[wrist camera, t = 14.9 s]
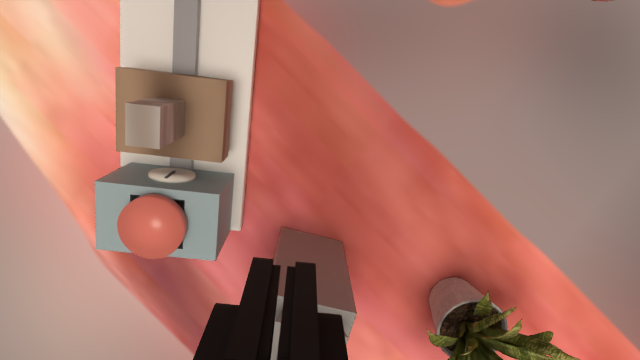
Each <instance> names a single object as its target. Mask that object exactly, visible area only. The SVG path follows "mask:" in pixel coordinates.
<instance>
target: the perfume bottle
mask: <svg viewBox="0 0 640 360" xmlns="http://www.w3.org/2000/svg"><path fill="white" fill-rule="evenodd" d="M273 259H274V262H273V265H281V269H280V279H279V288H278V297H277V306H276V316H275V325H274V334H273V343H272V353H271V360H277V353H278V344H279V335H280V326H281V318H282V309H283V300H284V291H285V282H286V273H287V266H293V267H295V263H296V261H297V262H307V263H316V283H317V307H318V313H329V314H340V315H342V320H343V327H344V334H345V341H346V344H347V341H348V338H349V335H350V332H351V329H352V326H353V323H354V320H355V317H356V314H357V312H356V307H355V302H354V297H353V292H352V287H351V282H350V278H349V273H348V268H347V263H346V258H345V253H344V248H343V243H342V241H339V240H335V239H330V238H326V237H322V236H318V235H314V234H310V233H306V232H302V231H298V230H294V229H289V228H285V227H281V231H280V235H279V238H278V242H277V246H276V250H275V253H274V257H273Z"/></svg>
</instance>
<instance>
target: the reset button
mask: <svg viewBox="0 0 640 360" xmlns="http://www.w3.org/2000/svg"><path fill="white" fill-rule="evenodd" d="M187 228H188V223H187V218H186V215H185V213H184V211H183V209H182V208H181V207H180V206H179V204H177V203H176V202H175V201H174V200H173V199H171V198H169V197H167V196H164V195H161V194H145V195H142V196H139V197H137V198H136V199H134V200H133V201H131V202H130V203H129V204H127V205H126V206H125V207H124V208H123V210H122V211H121V213H120V214H119V217H118V221H117V230H118V234H119V237H120V239H121V241H122V242H123V244H124V245H125V246H126V247H127V248H128V249H129V250H130V251H131V252H133V253H134V254H136V255H138V256H141V257H144V258H149V259H158V258H163V257H166V256H168V255H170V254H171V253H173V252H174V251H175V250H176V249H177V248H178V247H179V245H180V244H181V243H182V241H183V240H184V238H185V236H186V233H187Z"/></svg>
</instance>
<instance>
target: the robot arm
mask: <svg viewBox="0 0 640 360" xmlns="http://www.w3.org/2000/svg"><path fill="white" fill-rule="evenodd" d="M593 1H612V0H593ZM273 262H274V259H266V258H256V257H253V260H252V264H251V267H250V271H249V274H248V278H247V281H246V285H245V288H244V291H243V295H242V298H241V302H240V305H230V304H220V303H216V304H215V306H214V308H213V310H212V313H211V315H210V318H209V320H208V323H207V325H206V328H205V330H204V333H203V336H202V338H201V341H200V343H199V346H198V348H197V351H196V353H195V356H194V358H193V360H271V353H272V343H273V334H274V325H275V316H276V306H277V297H278V288H279V279H280V269H281V265H273ZM277 360H348V355H347V348H346V341H345V334H344V327H343V320H342V315H340V314H329V313H318V307H317V283H316V263H307V262H297V261H296V263H295V267H293V266H287V273H286V282H285V291H284V300H283V309H282V318H281V326H280V335H279V344H278V353H277Z"/></svg>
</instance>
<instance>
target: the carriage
mask: <svg viewBox="0 0 640 360" xmlns="http://www.w3.org/2000/svg"><path fill="white" fill-rule="evenodd" d="M232 89H233V80H227V79H219V78H211V77H203V76H195V75H187V74H179V73H171V72H163V71H155V70H147V69H139V68H131V67H116V151H119V152H128V153H137V154H146V155H154V156H163V157H172V158H181V159H190V160H199V161H208V162H217V163H222V162H223V161H224V160H225V159H226V158H227V157H228V150H229V135H230V119H231V104H232Z"/></svg>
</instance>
